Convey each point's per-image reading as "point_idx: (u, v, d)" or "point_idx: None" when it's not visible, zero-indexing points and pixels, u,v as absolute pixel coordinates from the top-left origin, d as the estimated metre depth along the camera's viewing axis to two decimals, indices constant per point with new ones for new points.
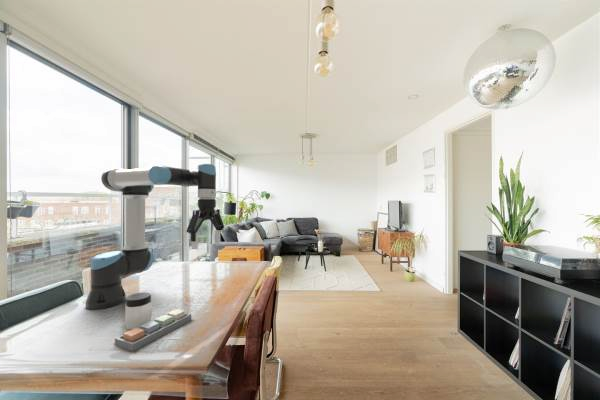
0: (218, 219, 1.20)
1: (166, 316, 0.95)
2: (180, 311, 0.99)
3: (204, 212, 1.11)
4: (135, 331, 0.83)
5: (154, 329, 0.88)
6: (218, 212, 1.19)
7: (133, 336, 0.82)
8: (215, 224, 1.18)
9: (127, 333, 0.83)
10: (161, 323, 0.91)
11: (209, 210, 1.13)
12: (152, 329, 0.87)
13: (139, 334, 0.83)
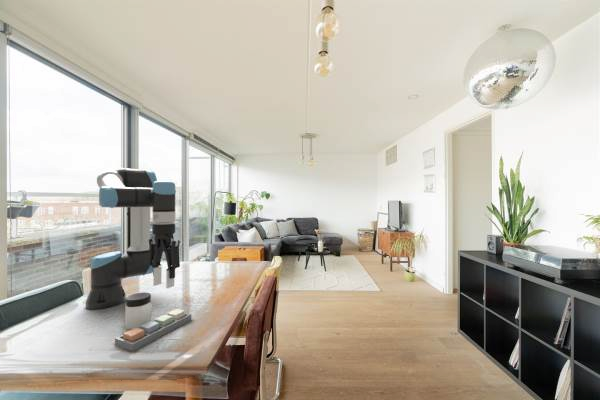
0: None
1: (166, 316, 0.95)
2: (180, 311, 0.99)
3: (156, 238, 0.94)
4: (135, 331, 0.83)
5: (154, 329, 0.88)
6: (172, 244, 0.91)
7: (133, 336, 0.82)
8: None
9: (127, 333, 0.83)
10: (161, 323, 0.91)
11: (162, 237, 0.93)
12: (152, 329, 0.87)
13: (139, 334, 0.83)
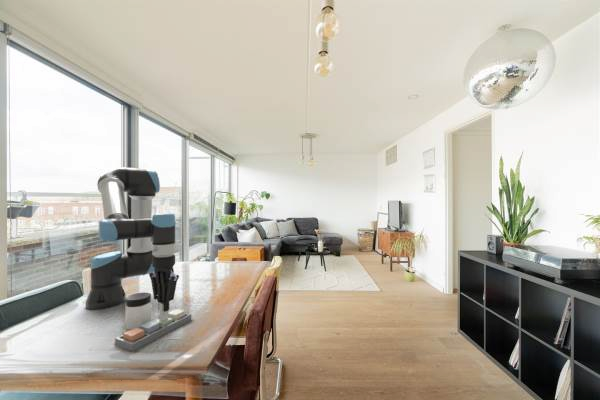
0: None
1: None
2: (180, 311, 0.99)
3: (156, 270, 0.94)
4: (135, 331, 0.83)
5: (154, 329, 0.88)
6: (170, 279, 0.91)
7: (133, 336, 0.82)
8: None
9: (127, 333, 0.83)
10: (161, 325, 0.91)
11: (162, 270, 0.93)
12: (152, 329, 0.87)
13: (139, 334, 0.83)
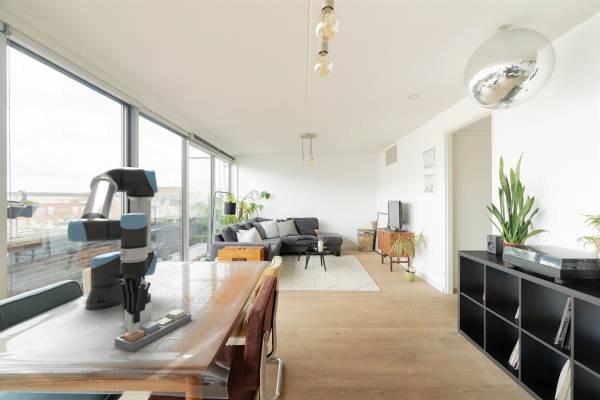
0: None
1: (166, 319, 0.95)
2: (180, 311, 0.99)
3: (125, 277, 0.84)
4: (135, 332, 0.83)
5: (154, 329, 0.88)
6: (140, 288, 0.81)
7: (133, 337, 0.82)
8: None
9: (127, 334, 0.83)
10: None
11: (131, 276, 0.83)
12: (152, 329, 0.87)
13: (139, 335, 0.83)
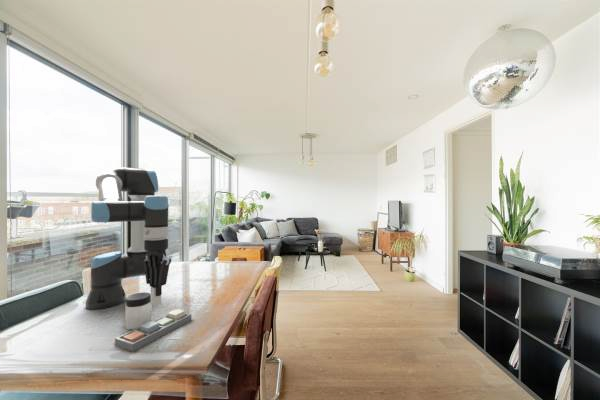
0: None
1: (166, 319, 0.95)
2: (180, 311, 0.99)
3: (148, 254, 0.91)
4: (135, 335, 0.83)
5: (154, 329, 0.88)
6: (162, 263, 0.88)
7: (133, 340, 0.81)
8: None
9: (127, 336, 0.83)
10: None
11: (154, 253, 0.90)
12: (152, 329, 0.87)
13: (139, 337, 0.83)
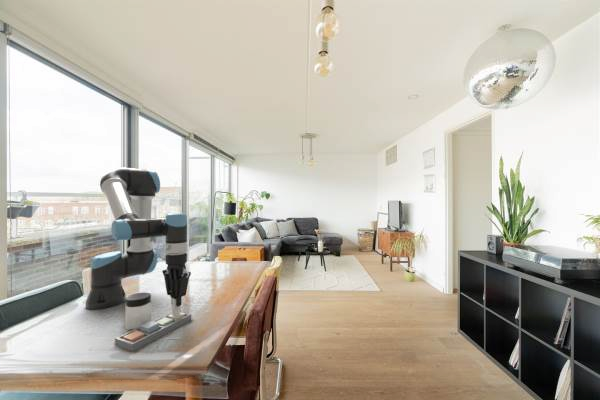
0: None
1: (166, 319, 0.95)
2: (180, 314, 0.99)
3: (169, 267, 0.99)
4: (135, 335, 0.83)
5: (154, 329, 0.88)
6: (183, 276, 0.96)
7: (133, 340, 0.81)
8: None
9: (127, 336, 0.83)
10: None
11: (174, 267, 0.98)
12: (152, 329, 0.87)
13: (139, 337, 0.83)
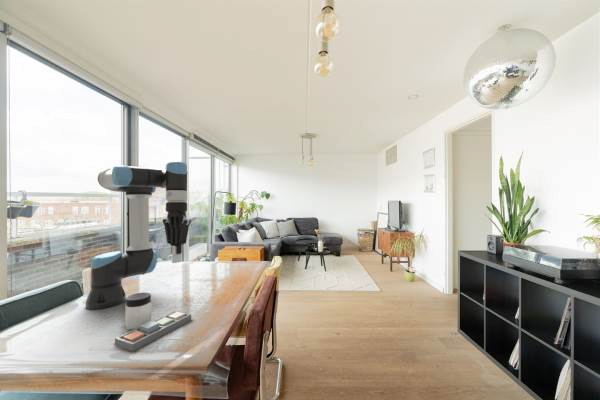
0: None
1: (166, 319, 0.95)
2: (180, 314, 0.99)
3: (169, 216, 0.99)
4: (135, 335, 0.83)
5: (154, 329, 0.88)
6: (183, 223, 0.96)
7: (133, 340, 0.81)
8: None
9: (127, 336, 0.83)
10: None
11: (175, 215, 0.98)
12: (152, 329, 0.87)
13: (139, 337, 0.83)
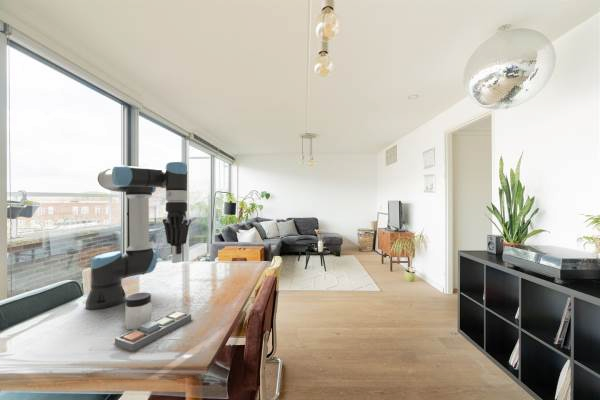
0: None
1: (166, 319, 0.95)
2: (180, 314, 0.99)
3: (169, 216, 0.99)
4: (135, 335, 0.83)
5: (154, 329, 0.88)
6: (183, 223, 0.96)
7: (133, 340, 0.81)
8: None
9: (127, 336, 0.83)
10: None
11: (175, 215, 0.98)
12: (152, 329, 0.87)
13: (139, 337, 0.83)
